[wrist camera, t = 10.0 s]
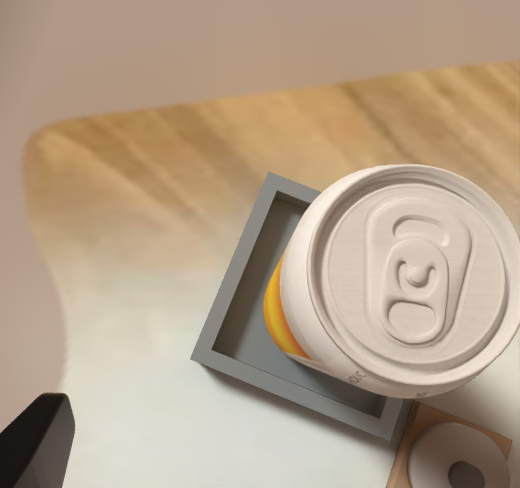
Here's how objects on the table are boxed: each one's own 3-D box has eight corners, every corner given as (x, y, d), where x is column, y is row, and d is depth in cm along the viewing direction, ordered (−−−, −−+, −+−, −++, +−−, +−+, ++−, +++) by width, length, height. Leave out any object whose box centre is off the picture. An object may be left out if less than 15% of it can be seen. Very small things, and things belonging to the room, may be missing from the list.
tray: (378, 433, 26) (390, 441, 24) (193, 357, 26) (189, 359, 24) (438, 251, 28) (453, 244, 26) (266, 183, 28) (268, 171, 26)
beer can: (381, 264, 27) (553, 173, 12) (366, 376, 26) (536, 427, 11) (273, 244, 27) (313, 128, 12) (253, 355, 26) (270, 377, 11)
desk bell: (475, 532, 25) (506, 558, 22) (383, 494, 25) (402, 515, 22) (501, 436, 26) (535, 448, 23) (413, 400, 26) (435, 408, 23)
